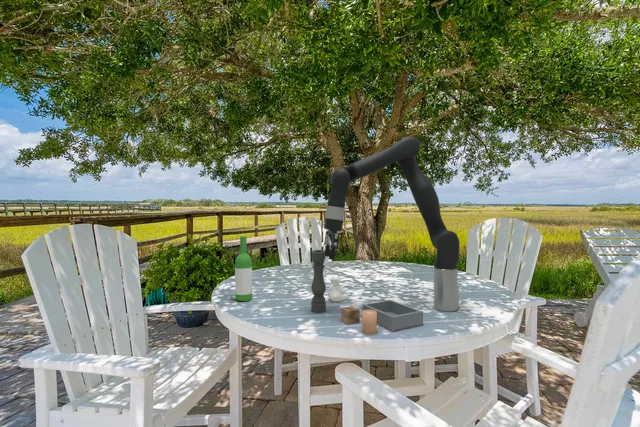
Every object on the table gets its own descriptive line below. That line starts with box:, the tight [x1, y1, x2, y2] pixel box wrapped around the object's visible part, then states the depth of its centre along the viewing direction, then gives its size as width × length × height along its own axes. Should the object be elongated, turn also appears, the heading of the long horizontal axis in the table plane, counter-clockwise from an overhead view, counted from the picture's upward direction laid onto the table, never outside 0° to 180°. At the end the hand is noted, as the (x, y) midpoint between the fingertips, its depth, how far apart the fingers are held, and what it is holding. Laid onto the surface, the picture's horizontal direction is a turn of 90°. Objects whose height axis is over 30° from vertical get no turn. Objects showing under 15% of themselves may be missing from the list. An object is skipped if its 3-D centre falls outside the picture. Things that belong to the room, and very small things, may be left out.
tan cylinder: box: [361, 310, 378, 336], centre depth 114 cm, size 5×5×7 cm
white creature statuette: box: [328, 274, 349, 303], centre depth 155 cm, size 10×9×12 cm
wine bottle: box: [234, 235, 253, 302], centre depth 156 cm, size 8×8×30 cm
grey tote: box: [361, 299, 424, 333], centre depth 125 cm, size 14×18×5 cm
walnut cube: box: [340, 305, 361, 325], centre depth 125 cm, size 5×5×5 cm
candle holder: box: [310, 249, 327, 314], centre depth 138 cm, size 6×6×25 cm
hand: (329, 257), depth 134 cm, fingers open, 8 cm apart
